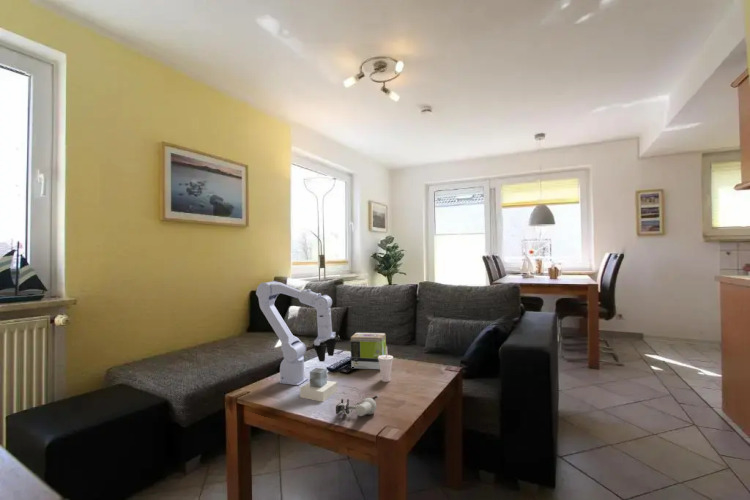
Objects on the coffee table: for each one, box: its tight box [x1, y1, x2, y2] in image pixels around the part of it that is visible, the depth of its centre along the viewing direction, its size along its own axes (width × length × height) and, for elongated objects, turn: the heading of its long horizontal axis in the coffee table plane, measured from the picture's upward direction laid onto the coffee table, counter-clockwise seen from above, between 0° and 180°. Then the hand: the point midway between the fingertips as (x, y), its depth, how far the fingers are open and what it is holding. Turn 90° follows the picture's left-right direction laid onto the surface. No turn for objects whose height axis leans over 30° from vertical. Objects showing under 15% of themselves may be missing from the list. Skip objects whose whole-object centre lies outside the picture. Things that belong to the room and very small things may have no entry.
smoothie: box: [378, 345, 394, 383], centre depth 146 cm, size 6×6×14 cm
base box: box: [299, 380, 338, 402], centre depth 133 cm, size 10×10×4 cm
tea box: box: [350, 332, 387, 370], centre depth 165 cm, size 15×10×15 cm
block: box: [309, 367, 328, 388], centre depth 133 cm, size 5×5×6 cm
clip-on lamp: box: [335, 390, 380, 418], centre depth 119 cm, size 12×6×18 cm
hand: (326, 358), depth 143 cm, fingers open, 7 cm apart
